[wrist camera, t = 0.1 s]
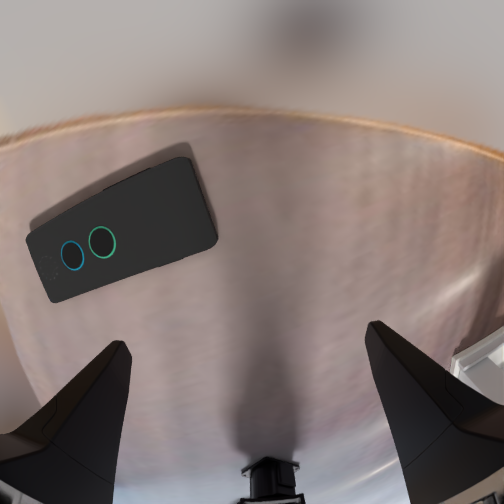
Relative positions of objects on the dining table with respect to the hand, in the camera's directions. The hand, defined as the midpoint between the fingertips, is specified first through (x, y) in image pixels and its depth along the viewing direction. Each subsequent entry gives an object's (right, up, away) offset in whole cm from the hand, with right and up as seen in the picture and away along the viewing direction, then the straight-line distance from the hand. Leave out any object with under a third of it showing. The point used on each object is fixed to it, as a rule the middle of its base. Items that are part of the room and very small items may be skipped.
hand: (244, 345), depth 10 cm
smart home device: (-13, +5, +15) cm, 21 cm away
